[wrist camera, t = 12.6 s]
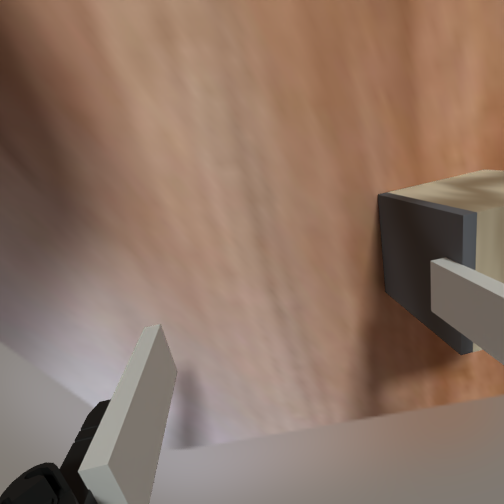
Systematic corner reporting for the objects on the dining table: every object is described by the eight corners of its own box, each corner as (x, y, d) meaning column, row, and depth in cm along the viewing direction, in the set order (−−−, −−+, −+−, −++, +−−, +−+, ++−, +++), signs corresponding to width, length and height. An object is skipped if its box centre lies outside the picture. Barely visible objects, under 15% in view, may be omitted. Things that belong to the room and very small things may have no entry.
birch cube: (460, 355, 14) (600, 320, 15) (463, 215, 12) (628, 176, 12) (385, 292, 21) (482, 268, 21) (377, 194, 19) (486, 169, 19)
